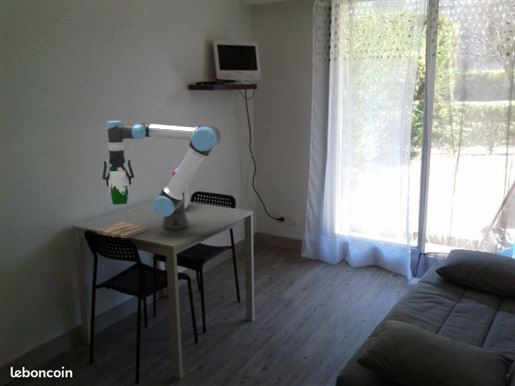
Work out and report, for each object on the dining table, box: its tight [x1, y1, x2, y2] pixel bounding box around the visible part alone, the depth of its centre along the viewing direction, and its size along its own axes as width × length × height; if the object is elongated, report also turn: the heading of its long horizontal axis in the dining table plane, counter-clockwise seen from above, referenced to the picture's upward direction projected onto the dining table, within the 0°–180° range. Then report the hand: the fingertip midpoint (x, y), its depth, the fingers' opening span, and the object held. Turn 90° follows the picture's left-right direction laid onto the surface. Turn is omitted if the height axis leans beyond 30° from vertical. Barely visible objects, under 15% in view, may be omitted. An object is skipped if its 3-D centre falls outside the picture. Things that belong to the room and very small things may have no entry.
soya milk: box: [109, 166, 129, 206], centre depth 243 cm, size 9×9×20 cm
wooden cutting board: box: [96, 222, 148, 239], centre depth 248 cm, size 20×18×2 cm
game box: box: [172, 166, 190, 210], centre depth 295 cm, size 21×6×27 cm, turn 178°
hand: (119, 191), depth 243 cm, fingers closed on soya milk, 9 cm apart
